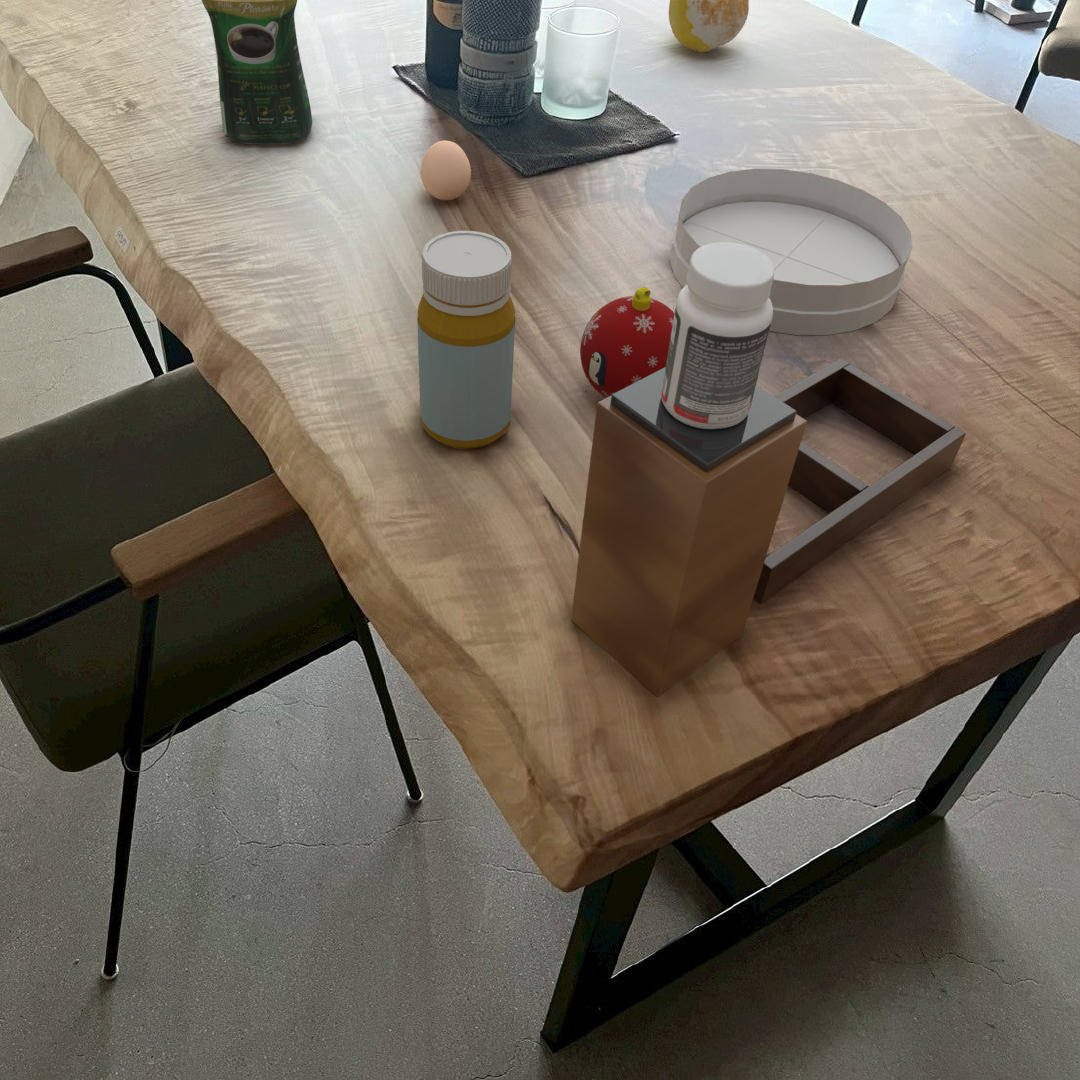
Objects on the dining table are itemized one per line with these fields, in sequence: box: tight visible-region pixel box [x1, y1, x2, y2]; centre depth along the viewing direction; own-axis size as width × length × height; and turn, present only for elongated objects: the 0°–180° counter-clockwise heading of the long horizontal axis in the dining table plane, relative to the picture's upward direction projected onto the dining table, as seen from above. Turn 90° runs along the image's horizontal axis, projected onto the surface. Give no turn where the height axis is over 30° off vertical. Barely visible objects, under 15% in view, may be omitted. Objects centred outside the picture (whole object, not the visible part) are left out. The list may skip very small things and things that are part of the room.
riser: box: [570, 396, 808, 698], centre depth 62 cm, size 8×8×18 cm
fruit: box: [668, 0, 750, 53], centre depth 137 cm, size 10×11×10 cm
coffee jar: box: [201, 0, 313, 145], centre depth 109 cm, size 10×8×19 cm
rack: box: [753, 357, 967, 605], centre depth 78 cm, size 12×23×4 cm, turn 131°
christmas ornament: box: [579, 286, 675, 399], centre depth 82 cm, size 9×9×10 cm
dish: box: [669, 168, 913, 336], centre depth 100 cm, size 22×22×5 cm
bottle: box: [416, 230, 516, 450], centre depth 77 cm, size 7×7×15 cm
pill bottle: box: [661, 242, 775, 429], centre depth 52 cm, size 5×5×8 cm
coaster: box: [611, 367, 797, 472], centre depth 56 cm, size 7×7×1 cm
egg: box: [420, 140, 472, 201], centre depth 105 cm, size 5×5×6 cm
